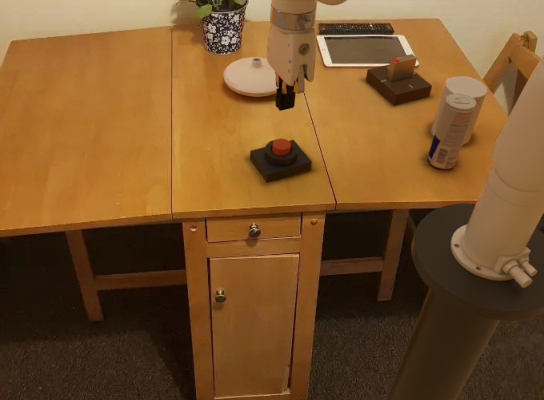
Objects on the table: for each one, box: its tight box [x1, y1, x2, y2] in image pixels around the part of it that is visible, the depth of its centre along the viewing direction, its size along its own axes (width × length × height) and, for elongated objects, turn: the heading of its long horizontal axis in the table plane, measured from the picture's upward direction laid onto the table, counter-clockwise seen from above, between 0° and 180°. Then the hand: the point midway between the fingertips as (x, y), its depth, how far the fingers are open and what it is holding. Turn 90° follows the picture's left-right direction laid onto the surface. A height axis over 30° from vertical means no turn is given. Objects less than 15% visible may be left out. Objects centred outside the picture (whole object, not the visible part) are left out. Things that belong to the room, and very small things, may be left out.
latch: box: [386, 53, 418, 82], centre depth 136 cm, size 6×2×5 cm, turn 112°
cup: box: [430, 75, 488, 146], centre depth 123 cm, size 8×8×12 cm
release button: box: [272, 138, 291, 156], centre depth 116 cm, size 4×4×2 cm
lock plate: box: [365, 64, 433, 106], centre depth 139 cm, size 12×10×3 cm
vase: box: [223, 56, 279, 97], centre depth 138 cm, size 16×16×7 cm
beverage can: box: [427, 93, 476, 170], centre depth 115 cm, size 6×6×15 cm
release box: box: [249, 138, 313, 183], centre depth 118 cm, size 10×8×4 cm
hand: (284, 106), depth 109 cm, fingers closed
